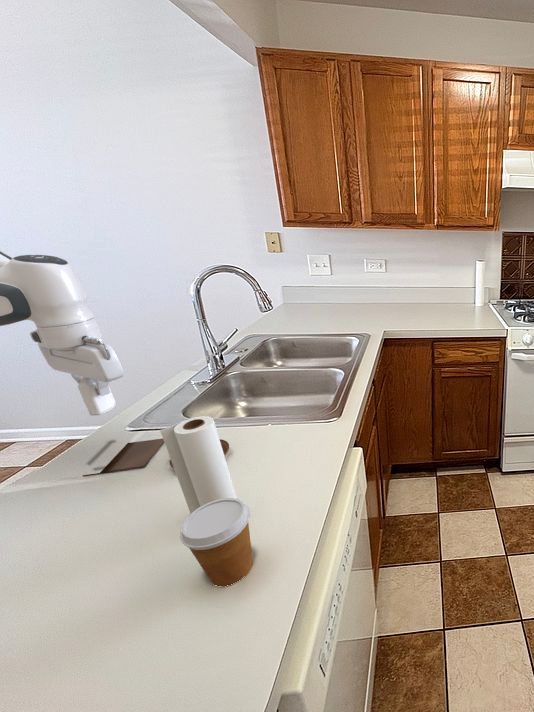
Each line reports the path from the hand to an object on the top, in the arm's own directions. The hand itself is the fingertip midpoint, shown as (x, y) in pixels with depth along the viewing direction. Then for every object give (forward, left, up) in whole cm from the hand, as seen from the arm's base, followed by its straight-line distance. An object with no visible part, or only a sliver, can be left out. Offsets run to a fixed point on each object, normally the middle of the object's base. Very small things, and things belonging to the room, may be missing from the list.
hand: (96, 392), depth 89 cm
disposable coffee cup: (+34, -41, -18) cm, 57 cm away
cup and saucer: (+18, -5, -18) cm, 27 cm away
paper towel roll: (+28, -26, -18) cm, 43 cm away
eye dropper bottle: (0, 0, -5) cm, 5 cm away
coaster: (0, +1, -18) cm, 18 cm away
